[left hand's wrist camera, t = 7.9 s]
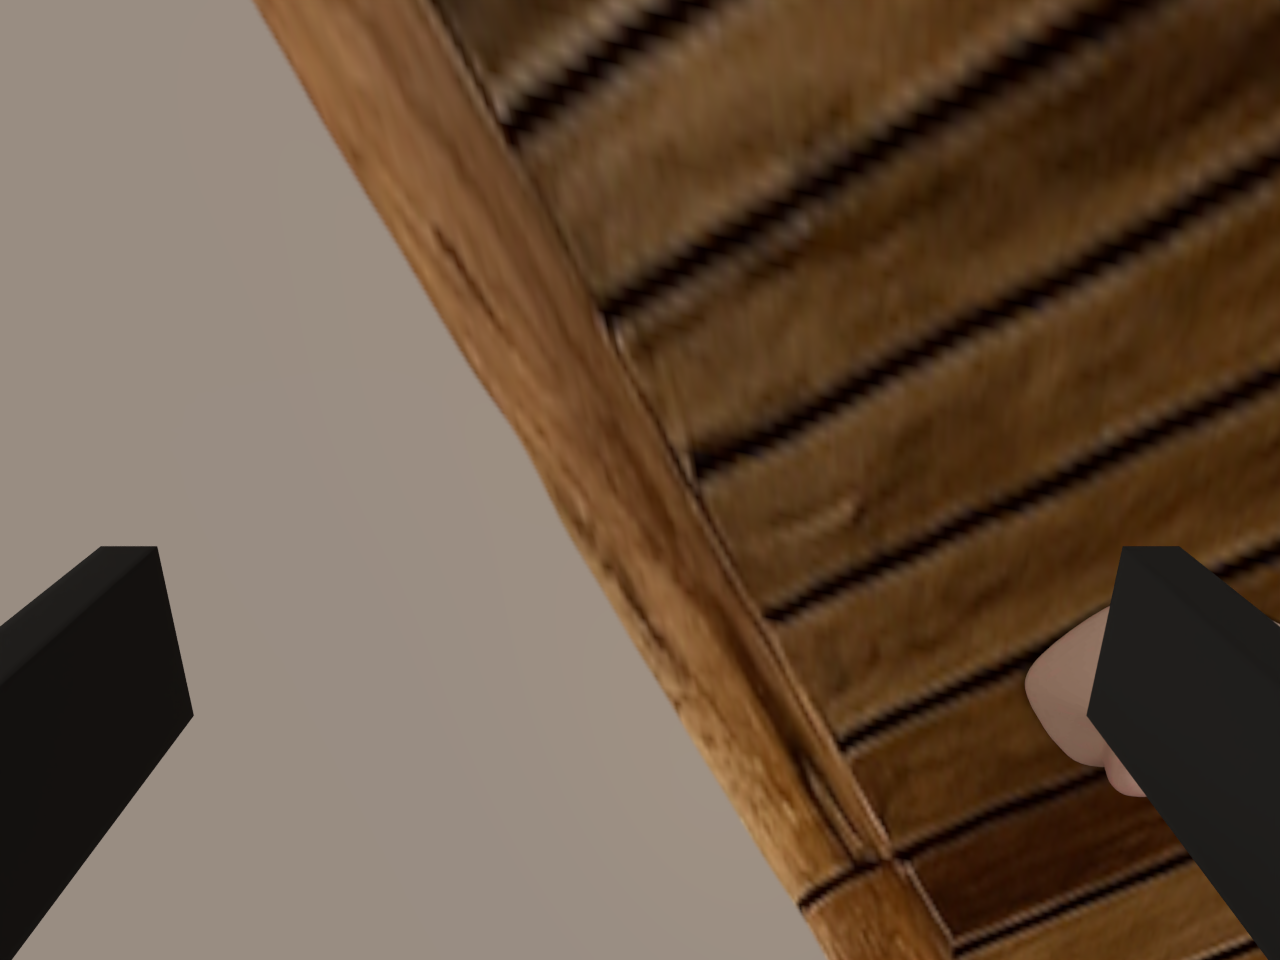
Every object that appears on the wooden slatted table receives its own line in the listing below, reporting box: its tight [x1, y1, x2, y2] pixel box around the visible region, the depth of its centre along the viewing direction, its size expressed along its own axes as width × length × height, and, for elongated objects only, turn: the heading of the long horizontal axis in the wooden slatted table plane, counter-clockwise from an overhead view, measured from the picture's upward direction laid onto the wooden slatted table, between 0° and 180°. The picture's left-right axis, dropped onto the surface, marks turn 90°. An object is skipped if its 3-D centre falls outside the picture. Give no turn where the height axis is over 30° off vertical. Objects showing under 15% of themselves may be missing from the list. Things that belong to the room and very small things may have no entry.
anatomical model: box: [1025, 606, 1280, 797], centre depth 45 cm, size 13×4×12 cm
